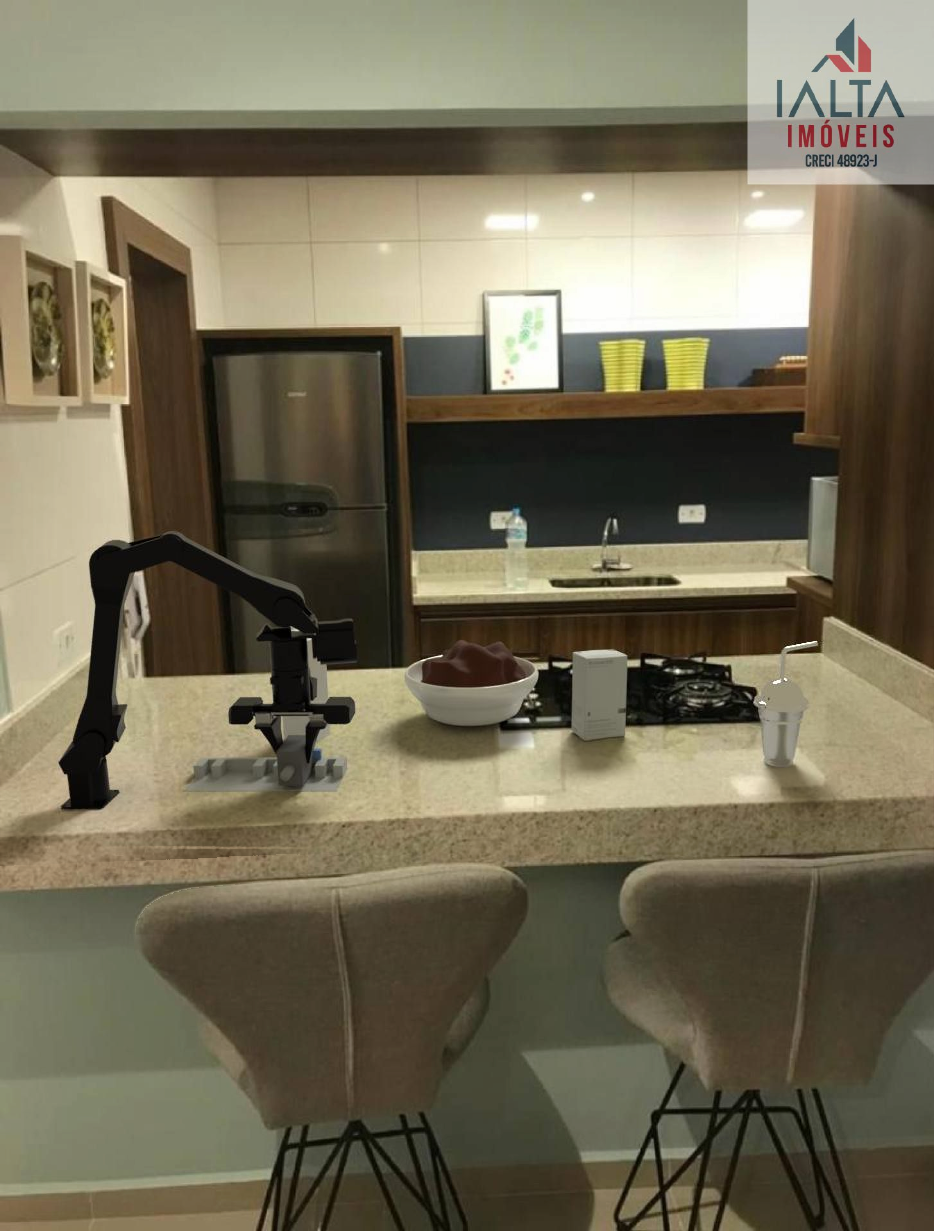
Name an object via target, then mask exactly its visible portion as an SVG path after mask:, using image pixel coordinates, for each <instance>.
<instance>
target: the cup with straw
mask: <svg viewBox="0 0 934 1231" xmlns="http://www.w3.org/2000/svg"><path fill="white" fill-rule="evenodd" d="M818 646H819V643H818V641H817V640H816V641H811V642H806V643H801V644H796V645H789V646H786V647H784V648H783V649H782V650H781V652H780V666H779V667H780V669H779V671H780V672H779V678H775V679H772V680H770V681H768V682H766V683H765V684H764V685H763V686H762V688H761V689H760V691H759V693H758V694H757V695H756V696H754V700H753V705H754V706H755V707H757V708H758V714H759V720H760V727H761V728H760V729H761V742H762V754H763V756H764V758H763V762H764V764H766V765H769V766H772V767H777V768H786V767H787V768H788V767H790V766H793V764H794V758H795V755H796V749H797V744H798V740H799V739H798V738H799V732H800V728H801V723H802V721H803V718H804V713H805V711H807V710H809V708H810V707H811V706H810V702H809V699H807V697H805V694H804V692H803V690H802V688H801V687H800V686H799V685H798V684H797V683H796V682H795V681H792V680H790V679H787V678H785V676H786V660H787V659H786V658H787V657H786V656H787V655H786V654H787V653H788V652H791V651H797V650H801V649H807V648H811V647H818Z"/></svg>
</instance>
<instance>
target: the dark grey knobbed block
mask: <svg viewBox="0 0 934 1231" xmlns="http://www.w3.org/2000/svg"><path fill="white" fill-rule="evenodd" d="M276 757H277V766H278V780H279V786H303V785H304V784H305V782H306V780H307V778H308V777H309V775H310V773H311V771H312V770H313V768H314V763H313V754H312V758H311V761H310V763H309V764H307V761H306V737H305V735H288V736H287V738H286V739H285V740H283V743H282V745H281V746H280V748H279V749H278V750H277V756H276Z"/></svg>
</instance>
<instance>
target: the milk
mask: <svg viewBox="0 0 934 1231" xmlns="http://www.w3.org/2000/svg"><path fill="white" fill-rule="evenodd" d="M290 627H291V631H299V630H297V629H295V628H293V627H292V626H290ZM307 647H308V664H309V668H310V675H311V677H314V678H317V698H315V699H314V700H313V701H311V704H325V703H326V702H327V700H328V699H329V687H328V672H327V671H328V670H327V664H325V665H320V661H318V662H317V658H316V659H313V655H312V639H311V638H308V639H307ZM281 719H282V729H283V731H282V734H283V741H285V739H286V738H287V736H288V735H305V727H306V725H307V724H308V722H309V721H310V719H309V716H281ZM330 725H331V724H327V726H326V728H325V729H320V731H319V734H318V736H317V740H316V743H317V742H319V741H320V740H323V739H325V737H328V736H330V735H331V726H330Z"/></svg>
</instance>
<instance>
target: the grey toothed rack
mask: <svg viewBox="0 0 934 1231" xmlns="http://www.w3.org/2000/svg"><path fill="white" fill-rule="evenodd" d="M322 750H323V749H322V748H318V747H317V748H316V747H314V751H313V763H314V768H313V770H312V771H311V773H310V775H309V777H308V778H307V780H306V782H305V784H304V785H303V786H279V780H278V766H277V756H276V757H274V756H273V757H265V756H264V757H262V756H261V757H200V758H199V759H198V760H197V762H196V763H194V764H193V776H194V777H193V779H191V781H190V782H189V783H188V784H187V785H186V787H185V788H184V789H183V791H182V792H337V791H338V789H339V788H340V785H341V783H342V781H343V779H344V777H345V775H346V773H347V770H348V760H347V756H343V757H342V756H341V757H339V756H337V757H334V756H333V757H331V756H330V757H327V756H326V757H325V756H324V757H323V751H322Z"/></svg>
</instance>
